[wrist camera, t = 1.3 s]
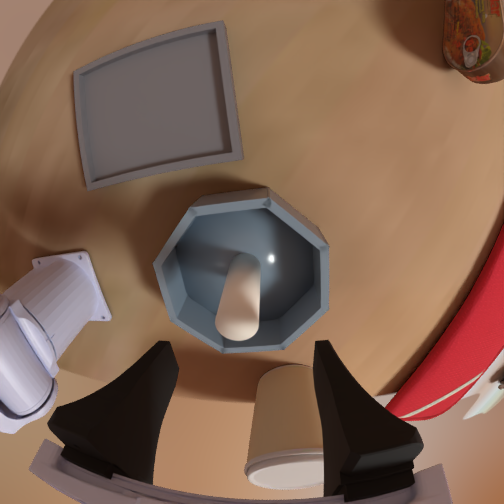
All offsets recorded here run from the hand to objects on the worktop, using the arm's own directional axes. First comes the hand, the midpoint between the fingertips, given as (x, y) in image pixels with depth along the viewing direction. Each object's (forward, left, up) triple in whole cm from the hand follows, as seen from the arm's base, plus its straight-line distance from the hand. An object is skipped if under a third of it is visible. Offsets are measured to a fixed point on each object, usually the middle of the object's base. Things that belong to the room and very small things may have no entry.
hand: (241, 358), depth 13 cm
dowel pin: (-1, 0, -10) cm, 10 cm away
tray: (-6, +14, -11) cm, 19 cm away
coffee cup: (+2, -16, -11) cm, 20 cm away
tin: (+22, +22, -11) cm, 33 cm away
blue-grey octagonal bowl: (-1, 0, -11) cm, 11 cm away
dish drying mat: (+31, -9, -12) cm, 34 cm away
